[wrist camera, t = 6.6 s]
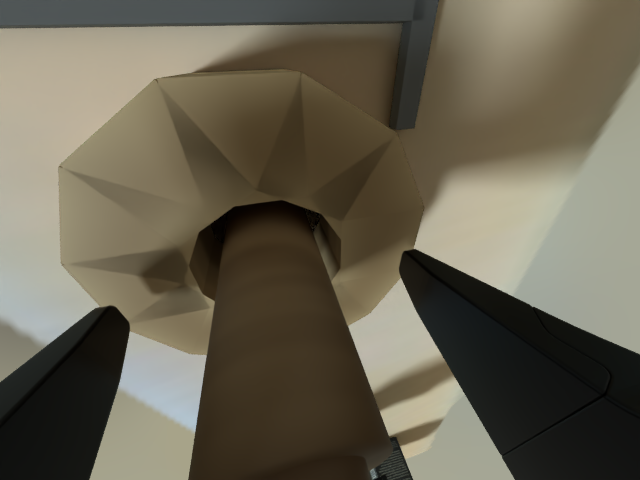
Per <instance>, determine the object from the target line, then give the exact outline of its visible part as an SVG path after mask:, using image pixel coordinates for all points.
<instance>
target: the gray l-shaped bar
mask: <svg viewBox="0 0 640 480" xmlns="http://www.w3.org/2000/svg"><path fill="white" fill-rule="evenodd" d="M438 2H439V0H0V28H69V27H147V26H226V25H304V24H382V23H403V25H402V33H401V41H400V48H399V56H398V63H397V71H396V78H395V86H394V93H393V101H392V109H391V116H390V124H389V127H391V128H393V129H395V130H401V129H412V128H414V127H415V122H416V117H417V112H418V106H419V101H420V96H421V91H422V86H423V80H424V75H425V70H426V65H427V60H428V54H429V49H430V44H431V39H432V33H433V28H434V23H435V18H436V13H437V7H438Z"/></svg>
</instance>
